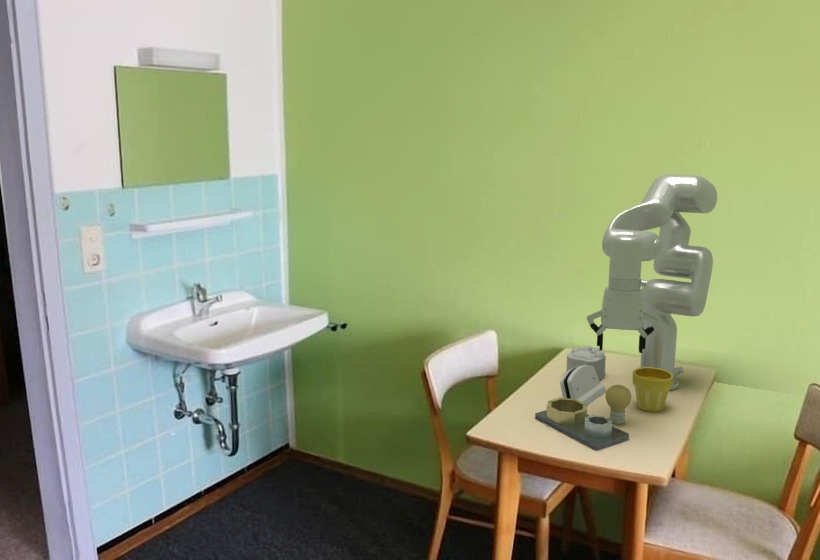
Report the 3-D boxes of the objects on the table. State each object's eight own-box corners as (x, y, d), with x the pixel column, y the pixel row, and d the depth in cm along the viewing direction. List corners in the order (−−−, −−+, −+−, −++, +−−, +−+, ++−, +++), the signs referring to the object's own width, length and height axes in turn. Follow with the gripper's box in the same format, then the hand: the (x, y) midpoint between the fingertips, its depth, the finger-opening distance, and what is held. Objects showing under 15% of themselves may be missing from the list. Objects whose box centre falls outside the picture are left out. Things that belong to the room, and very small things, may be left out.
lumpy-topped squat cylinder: (562, 378, 213) (563, 351, 211) (579, 366, 223) (580, 340, 221) (595, 385, 207) (596, 357, 205) (610, 373, 217) (612, 346, 215)
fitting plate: (566, 409, 190) (566, 393, 189) (628, 439, 171) (629, 422, 170) (535, 418, 184) (535, 402, 183) (596, 450, 166) (596, 433, 165)
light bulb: (617, 429, 177) (619, 391, 175) (599, 420, 183) (600, 384, 180) (635, 423, 180) (637, 387, 178) (617, 414, 186) (618, 379, 183)
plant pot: (674, 404, 192) (677, 370, 190) (666, 417, 183) (668, 382, 181) (636, 397, 197) (638, 364, 195) (626, 409, 189) (628, 375, 187)
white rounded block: (581, 410, 189) (571, 374, 189) (566, 411, 192) (555, 377, 192) (606, 391, 202) (597, 358, 202) (592, 393, 205) (582, 360, 205)
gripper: (659, 282, 175) (655, 348, 178) (588, 279, 179) (585, 343, 183) (662, 289, 168) (657, 357, 171) (588, 286, 172) (585, 352, 176)
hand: (620, 350), depth 177 cm, fingers open, 9 cm apart
